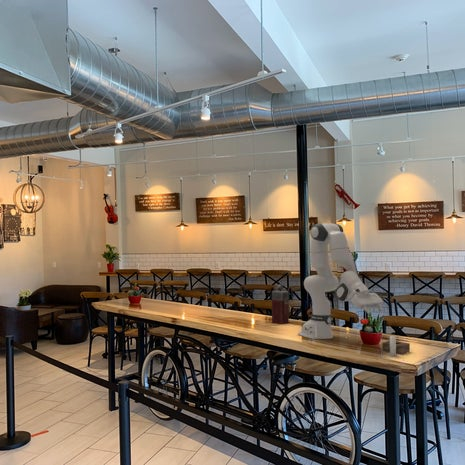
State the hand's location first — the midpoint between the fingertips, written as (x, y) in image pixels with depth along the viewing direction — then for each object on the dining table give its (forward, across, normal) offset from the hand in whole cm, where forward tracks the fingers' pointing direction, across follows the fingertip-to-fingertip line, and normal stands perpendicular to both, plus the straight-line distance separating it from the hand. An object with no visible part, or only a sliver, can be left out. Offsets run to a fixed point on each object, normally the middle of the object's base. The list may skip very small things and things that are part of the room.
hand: (375, 312), depth 246 cm
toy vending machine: (-54, -8, -79) cm, 96 cm away
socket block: (+19, -9, -12) cm, 24 cm away
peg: (+23, 0, -8) cm, 24 cm away
